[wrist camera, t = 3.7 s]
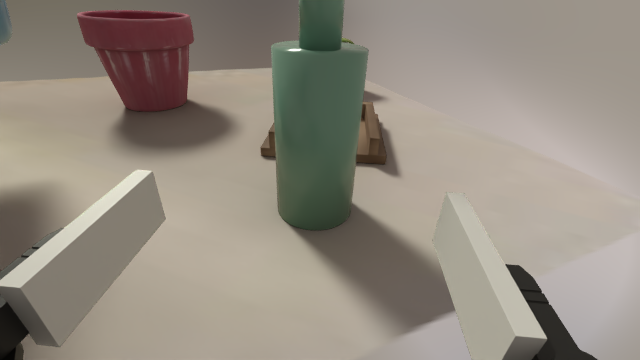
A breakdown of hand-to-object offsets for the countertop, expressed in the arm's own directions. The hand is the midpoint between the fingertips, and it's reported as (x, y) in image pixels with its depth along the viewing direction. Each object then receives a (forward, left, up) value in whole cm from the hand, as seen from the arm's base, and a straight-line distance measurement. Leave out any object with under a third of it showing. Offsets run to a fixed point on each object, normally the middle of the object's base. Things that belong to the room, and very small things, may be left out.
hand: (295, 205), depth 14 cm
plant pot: (-28, +36, -8) cm, 46 cm away
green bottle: (0, +11, -8) cm, 13 cm away
